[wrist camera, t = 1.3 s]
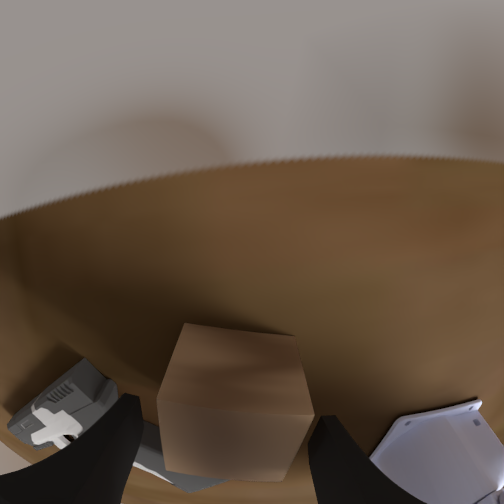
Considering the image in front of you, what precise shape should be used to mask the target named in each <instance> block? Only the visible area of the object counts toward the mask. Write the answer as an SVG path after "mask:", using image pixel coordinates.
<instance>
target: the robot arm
mask: <svg viewBox="0 0 504 504" xmlns="http://www.w3.org/2000/svg"><path fill="white" fill-rule="evenodd" d="M481 404H482V401H481V400H480V399H478V400H474V401H471V402H467V403H463V404H460V405H456V406H452V407H447V408H443V409H439V410H434V411H429V412H424V413H419V414H413V415H407V416H402V417H400V418H398V419H397V420H396V421H395V422H394V424H393V425H392V427H391V428H390V430H389V431H388V433H387V434H386V436H385V437H384V438H383V440H382V441H381V443H380V444H379V445H378V447H377V448H376V449H375V451H374V452H373V453H372V455H371V456H370V457H369V458H368V457H367V455H366V454H365V453H364V452H363V451H362V450H361V448H360V447H359V446H358V445H357V443H356V442H355V441H354V440H353V438H352V437H351V436H350V434H349V433H348V432H347V430H346V429H345V428H344V426H343V425H342V424H341V422H340V421H339V420H338V418H337V417H336V416H335V415H332V416H321V417H320V419H319V422H318V424H317V426H316V428H315V430H314V432H313V434H312V436H311V438H310V440H309V442H308V455H309V465H310V470H311V474H312V479H313V483H314V487H315V492H316V496H317V501H318V504H504V489H501V488H502V487H503V485H504V446H503V445H502V443H501V442H500V440H499V439H498V438H497V436H496V435H495V433H494V432H493V431H492V429H491V428H490V426H489V425H488V424H487V422H486V421H485V420H484V418H483V417H482V416H481V414H480V413H479V412H478V409H479V407H480V406H481ZM143 430H144V423H143V417H142V411H141V405H140V399H139V396H135V395H131V394H127V393H124V394H123V395H122V396H121V397H120V398H119V399H118V400H117V401H116V402H115V403H114V404H113V405H112V406H111V407H110V409H109V410H108V411H107V412H106V413H105V414H104V415H103V416H102V417H100V418H99V419H98V420H97V421H96V422H95V423H94V424H93V425H92V426H91V427H90V428H89V429H87V430H86V431H85V432H84V433H83V434H81V435H80V436H79V437H78V438H77V439H75V440H74V441H73V442H71V443H70V444H68V445H67V446H66V447H64V448H63V449H61V450H60V451H58V452H56V453H55V454H53V455H51V456H49V457H48V458H46V459H44V460H42V461H40V462H38V463H35V464H33V465H31V466H28V467H26V468H23V469H21V470H18V471H15V472H11V473H7V474H4V475H0V504H120V503H121V498H122V494H123V491H124V487H125V484H126V482H127V479H128V476H129V474H130V471H131V468H132V466H133V463H134V460H135V458H136V455H137V452H138V449H139V447H140V442H141V438H142V434H143ZM500 489H501V490H500Z"/></svg>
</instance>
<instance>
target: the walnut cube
mask: <svg viewBox="0 0 504 504" xmlns="http://www.w3.org/2000/svg"><path fill="white" fill-rule="evenodd" d="M156 401H157V411H158V420H159V428H160V436H161V443H162V450H163V456H164V462H165V468H166V470H167V471H172V472H177V473H183V474H189V475H195V476H202V477H209V478H218V479H227V480H240V481H260V482H282V480H283V478H284V477H285V475H286V473H287V471H288V469H289V467H290V465H291V464H292V462H293V460H294V458H295V456H296V454H297V452H298V450H299V448H300V446H301V444H302V442H303V439H304V437H305V435H306V433H307V431H308V429H309V427H310V424H311V422H312V420H313V418H314V416H315V414H314V410H313V406H312V402H311V398H310V394H309V390H308V386H307V382H306V378H305V374H304V370H303V366H302V362H301V358H300V355H299V351H298V347H297V343H296V339H295V336H289V335H278V334H267V333H258V332H249V331H240V330H232V329H225V328H217V327H210V326H203V325H197V324H190V323H184V326H183V328H182V331H181V333H180V336H179V339H178V341H177V344H176V346H175V349H174V352H173V354H172V357H171V360H170V362H169V365H168V368H167V371H166V373H165V376H164V379H163V382H162V384H161V387H160V390H159V393H158V395H157V398H156Z"/></svg>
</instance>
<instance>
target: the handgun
mask: <svg viewBox="0 0 504 504" xmlns="http://www.w3.org/2000/svg"><path fill="white" fill-rule="evenodd" d="M117 400H118V391H117V385H116V383H115V382H114V381H112V380H111V379H106V378H105V377H104V376H103V375H102V374H101V373H100V372H99V371H98V370H97V369H96V368H95V367H94V366H93V365H92V364H91V363H90V362H89V361H88V360H87V359H86V358H83V359H82V360H81V361H80V362H78V363H77V364H76V365H75V366H73V367H72V368H71V369H70V370H68V371H67V372H66V373H64V374H63V375H62V376H61V377H59V378H58V379H57V380H56V381H54V382H53V383H52V384H51V385H49V386H48V387H47V388H46V389H45V390H44V391H43V392H42V393H40V394H39V395H38V396H37V397H35V398H34V399H33V400H32V401H30V402H29V403H28V404H27V405H25V406H24V407H23V408H22V409H20V410H19V411H18V412H17V413H16V414H14V416H13V417H12V418H11V420H10V421H9V423H8V424H7V427H8V430H9V431H10V432H11V433H12V434H14V435H15V436H16V437H17V438H18V439H19V440H21V441H22V442H24V443H25V444H26V443H27V444H29V445H31V446H34V447H33V448H34V449H35V450H40V449H43V448H46V447H49V446H53V444H55V445H56V446H57V447H59V448H60V449H63V448H64V447H66V446H67V445H68V444H70V443H71V442H70V441H68V440H67V439H66V438H65V437H64V436H63V435H67V434H68V435H71V436H72V437H73V438H74V439H77V438H78V437H79V436H80V435H81V434H83V433H84V432H85V431H86V430H87V429H89V428H90V427H91V426H92V425H93V424H94V423H95V422H96V421H97V420H98V419H99V418H100V417H102V416H103V415H104V414H105V413H106V412H107V411H108V410H109V409H110V407H111V406H112V405H113V404H114V403H115V402H116V401H117ZM143 423H144V430H143V434H142V438H141V442H140V447H139V449H138V452H137V455H136V458H135V460H134V463H133V466H136V467H138V468H140V469H142V470H145V471H147V472H150V473H152V474H154V475H156V476H158V477H160V478H162V479H164V480H166V481H168V482H170V483H171V484H172V485H174V486H176V487H178V488H179V489H181V490H183V491H185V492H187V493H192V492H195V491H199V490H202V489H205V488H208V487H211V486H214V485H217V484H220V483H223V482H226V481H229V480H227V479H218V478H209V477H202V476H195V475H189V474H183V473H177V472H172V471H167V470H166V468H165V462H164V456H163V450H162V443H161V436H160V428H159V427H158V426H155V425H153V424H151V423H149V422H146V421H144V420H143Z"/></svg>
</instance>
